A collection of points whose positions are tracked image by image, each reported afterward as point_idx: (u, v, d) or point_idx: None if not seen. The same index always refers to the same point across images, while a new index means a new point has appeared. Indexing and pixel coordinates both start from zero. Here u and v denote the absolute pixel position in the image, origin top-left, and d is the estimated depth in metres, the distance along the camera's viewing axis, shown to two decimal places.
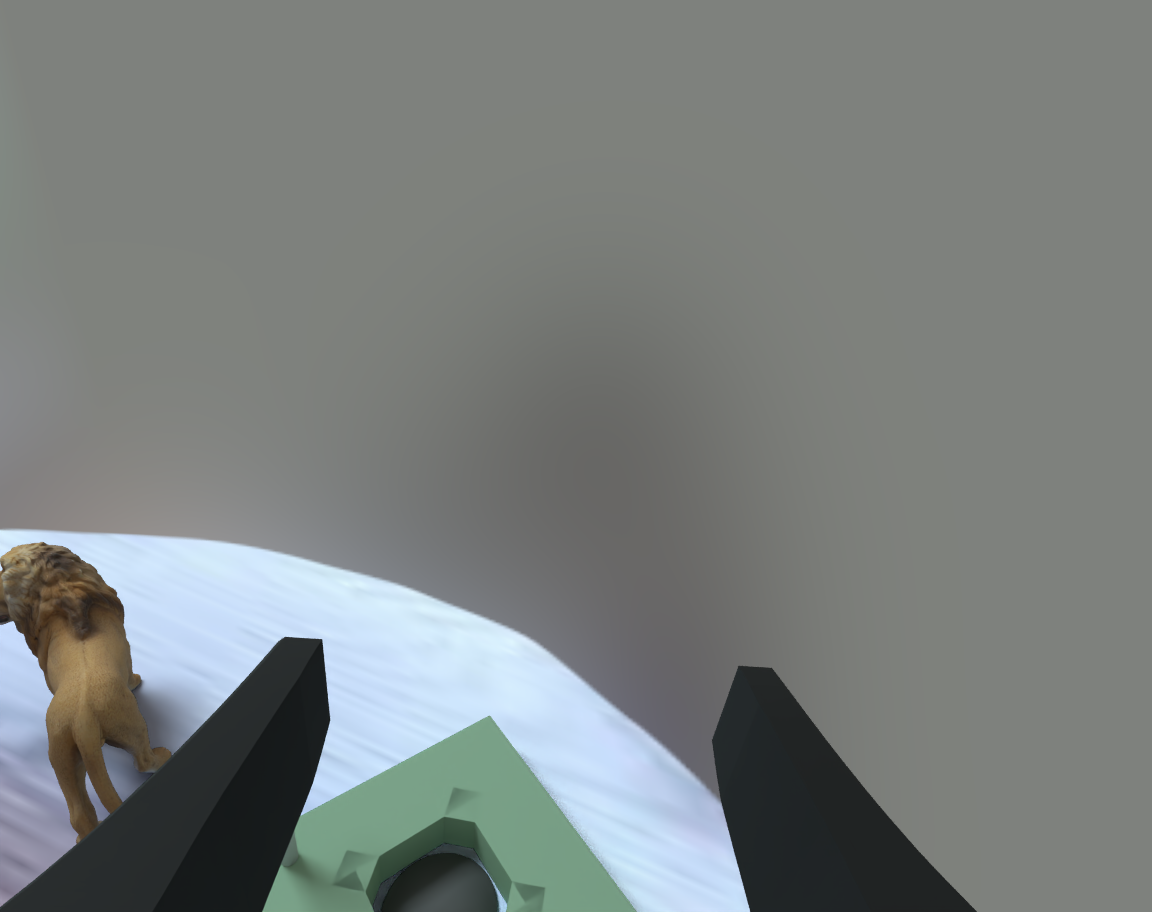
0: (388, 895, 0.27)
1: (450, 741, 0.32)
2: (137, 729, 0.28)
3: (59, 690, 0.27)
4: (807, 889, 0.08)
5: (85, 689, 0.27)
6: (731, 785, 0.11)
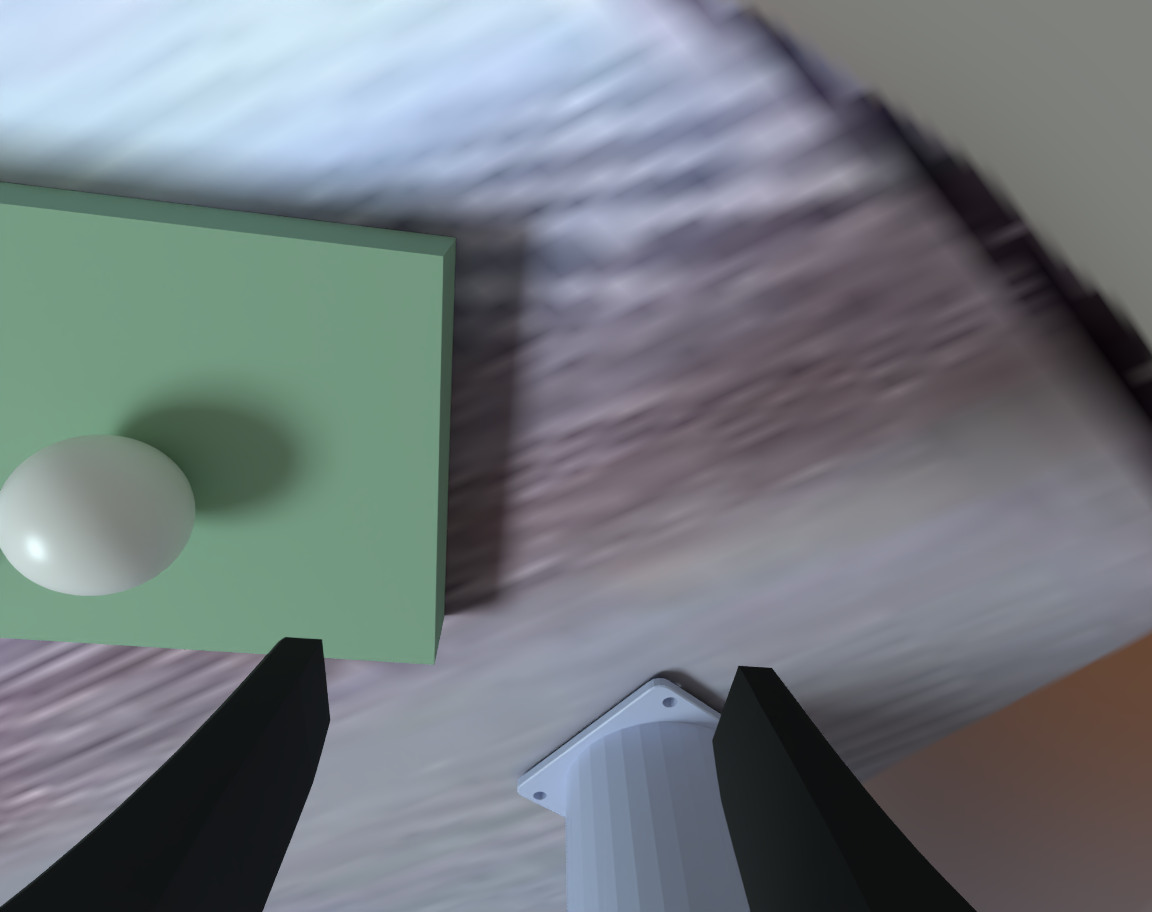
0: None
1: None
2: None
3: None
4: (807, 889, 0.08)
5: None
6: (732, 785, 0.11)
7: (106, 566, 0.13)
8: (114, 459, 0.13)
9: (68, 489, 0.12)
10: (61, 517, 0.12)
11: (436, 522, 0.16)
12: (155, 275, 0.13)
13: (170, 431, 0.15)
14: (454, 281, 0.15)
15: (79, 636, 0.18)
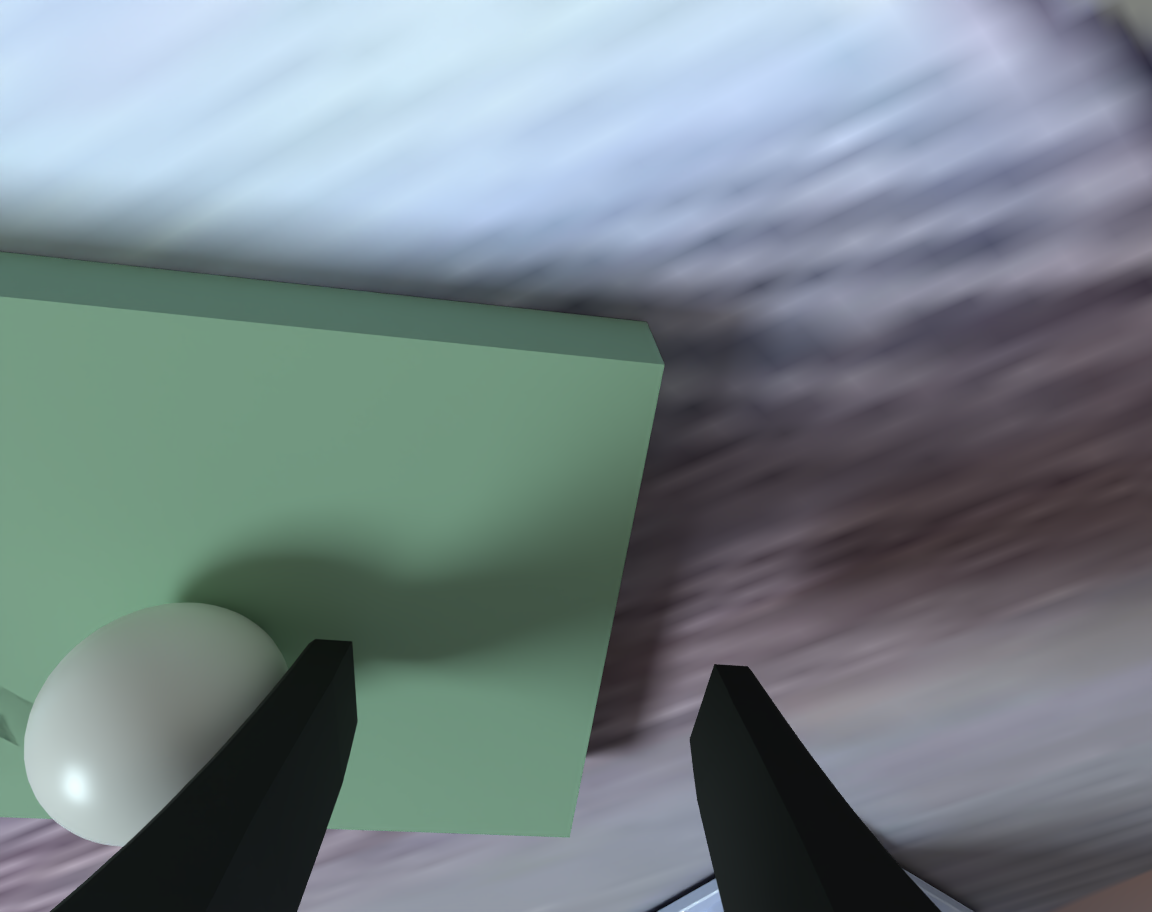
0: None
1: None
2: None
3: None
4: (776, 888, 0.08)
5: None
6: (707, 784, 0.11)
7: None
8: (193, 658, 0.09)
9: (130, 718, 0.08)
10: (120, 761, 0.08)
11: (598, 685, 0.12)
12: (254, 393, 0.09)
13: (259, 586, 0.11)
14: None
15: None
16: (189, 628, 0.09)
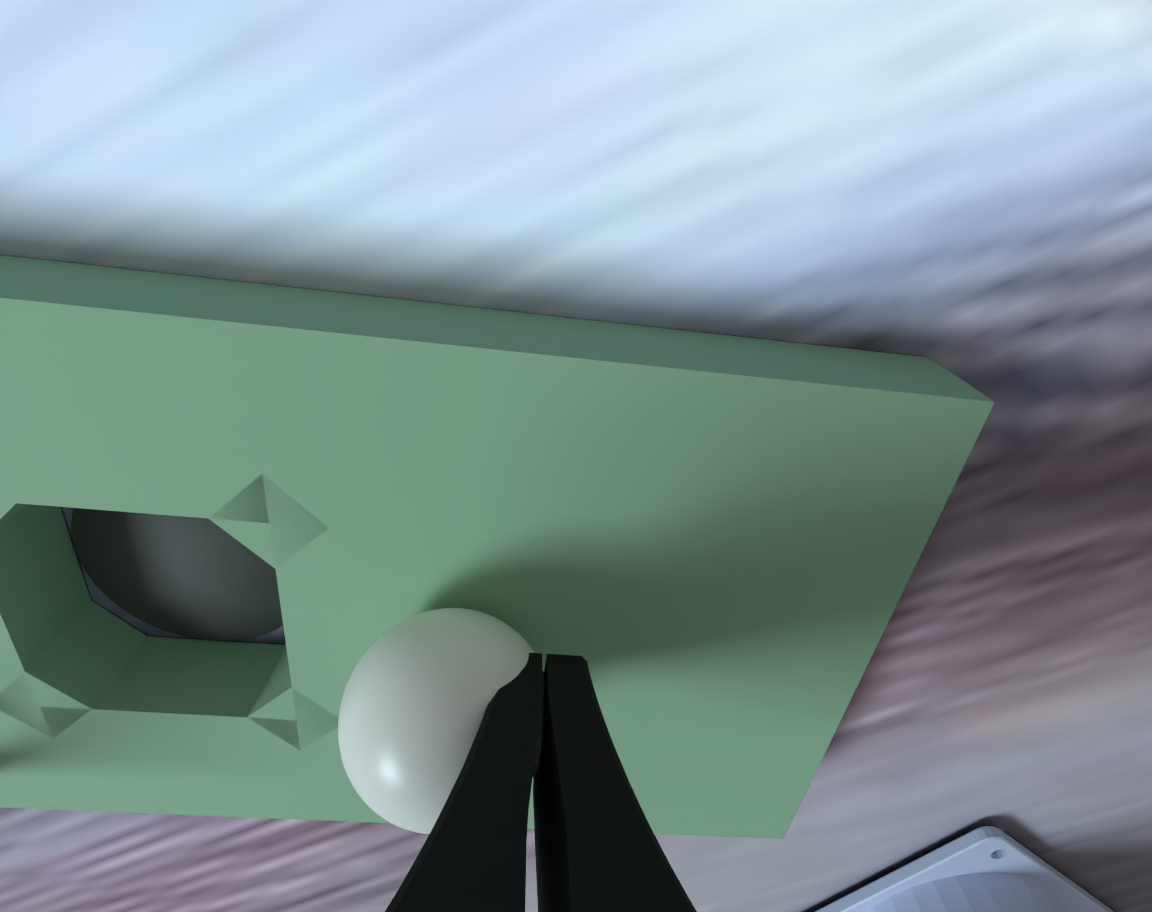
0: (121, 604, 0.14)
1: None
2: None
3: None
4: (555, 881, 0.08)
5: None
6: (537, 777, 0.10)
7: (413, 816, 0.09)
8: (475, 674, 0.10)
9: (410, 703, 0.09)
10: (390, 737, 0.09)
11: (851, 694, 0.13)
12: (618, 427, 0.10)
13: (569, 602, 0.12)
14: None
15: (377, 816, 0.15)
16: (484, 645, 0.10)
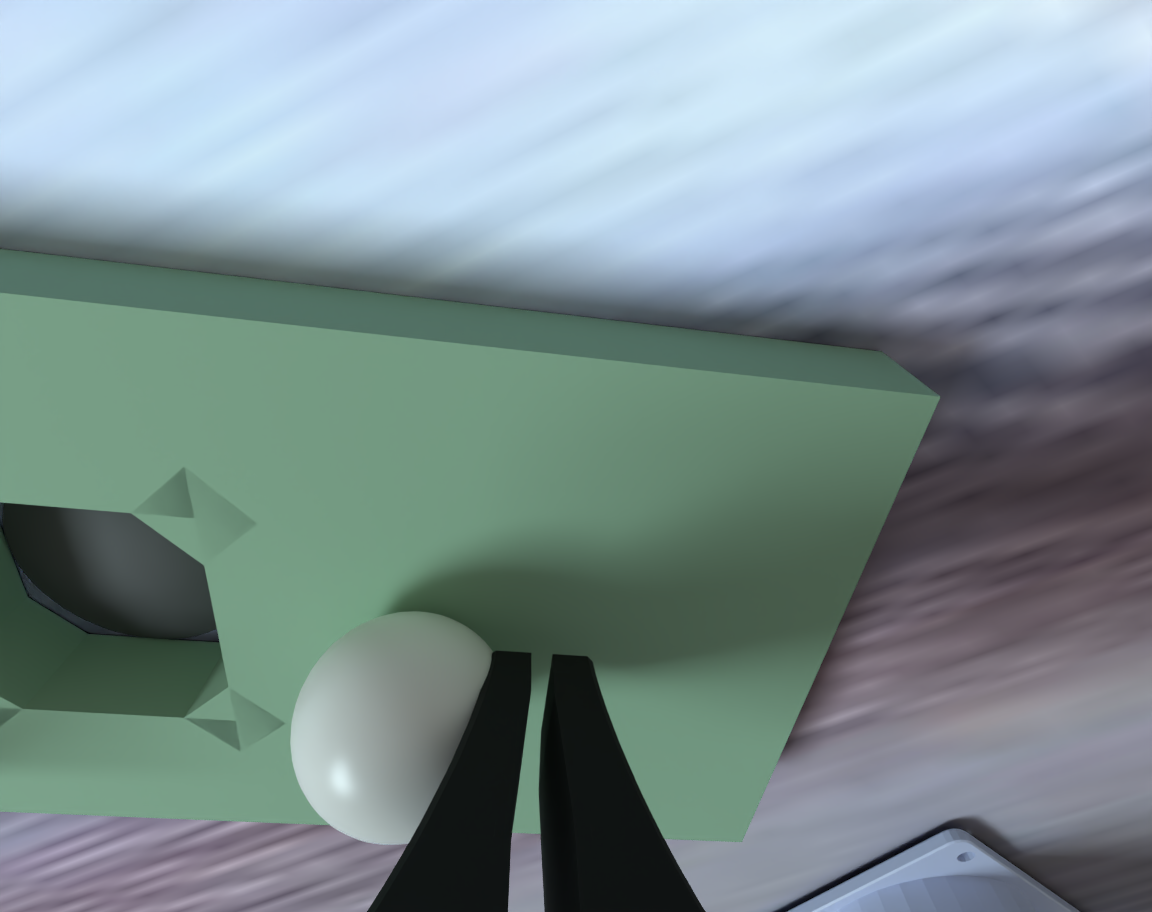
0: (58, 601, 0.14)
1: None
2: None
3: None
4: (563, 881, 0.08)
5: None
6: (542, 776, 0.10)
7: (396, 831, 0.09)
8: (439, 677, 0.09)
9: (379, 720, 0.09)
10: (362, 759, 0.09)
11: (804, 696, 0.13)
12: (552, 420, 0.10)
13: (510, 600, 0.11)
14: None
15: None
16: (441, 646, 0.10)
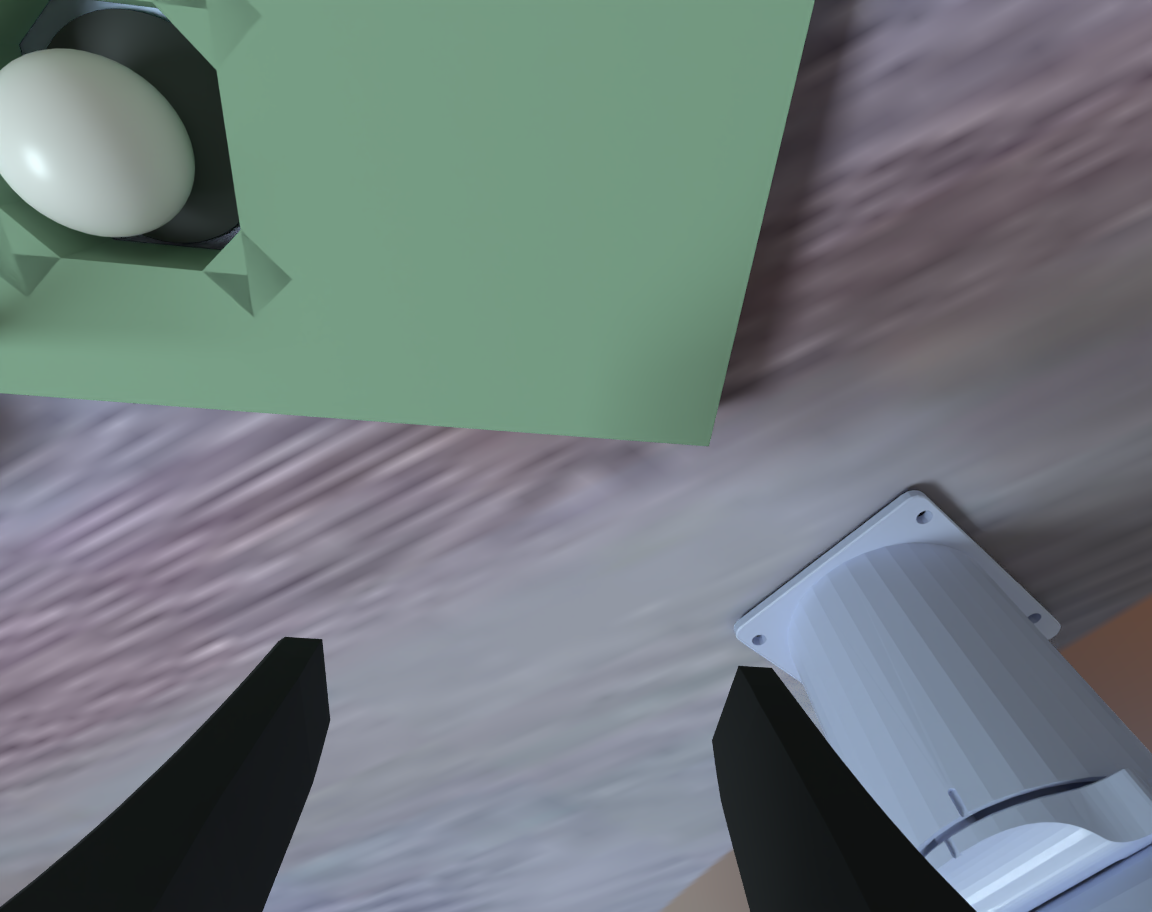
0: None
1: None
2: None
3: None
4: (807, 889, 0.08)
5: None
6: (731, 785, 0.11)
7: None
8: None
9: (143, 78, 0.13)
10: (167, 102, 0.13)
11: (754, 248, 0.15)
12: None
13: (485, 117, 0.13)
14: None
15: (330, 409, 0.16)
16: None
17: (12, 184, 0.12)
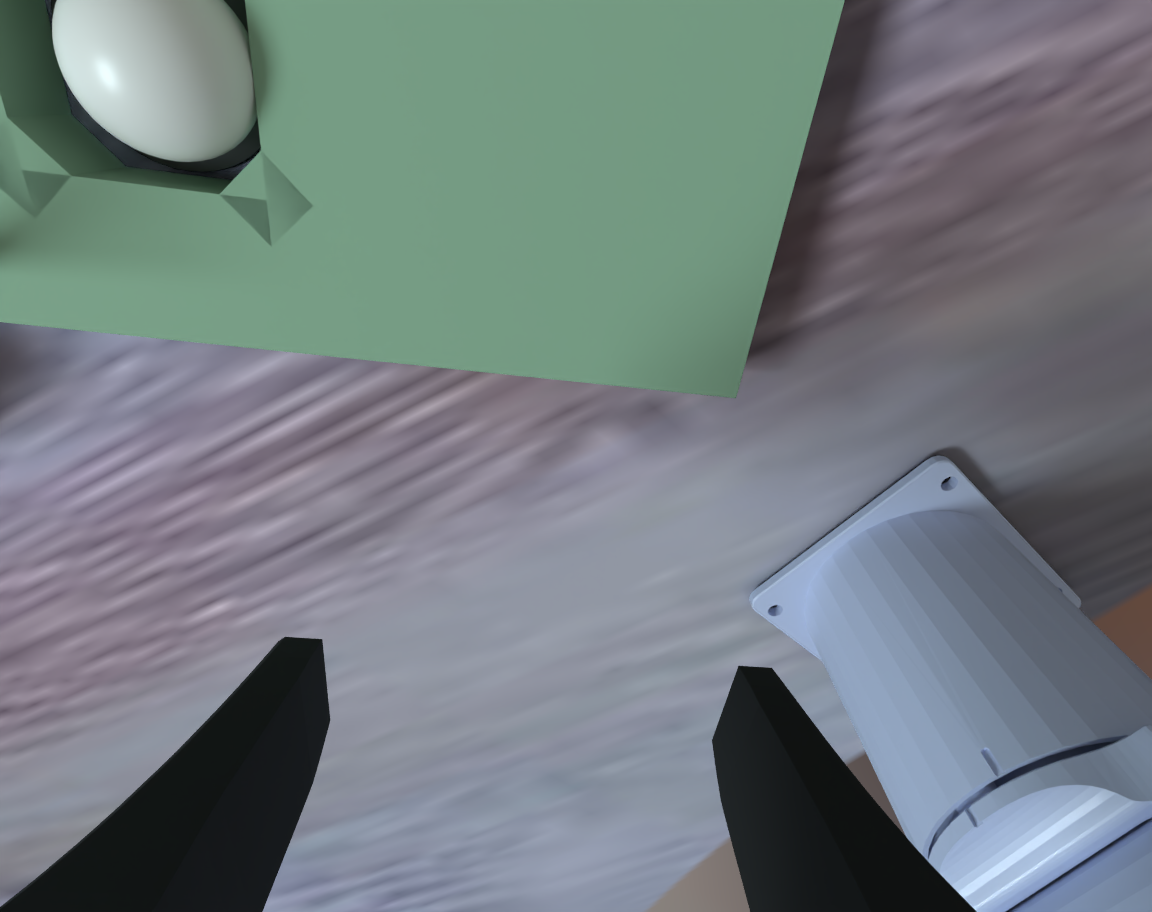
0: None
1: None
2: None
3: None
4: (807, 889, 0.08)
5: None
6: (732, 785, 0.11)
7: None
8: None
9: None
10: None
11: (792, 184, 0.14)
12: None
13: (521, 34, 0.12)
14: None
15: (347, 348, 0.16)
16: None
17: (122, 103, 0.12)
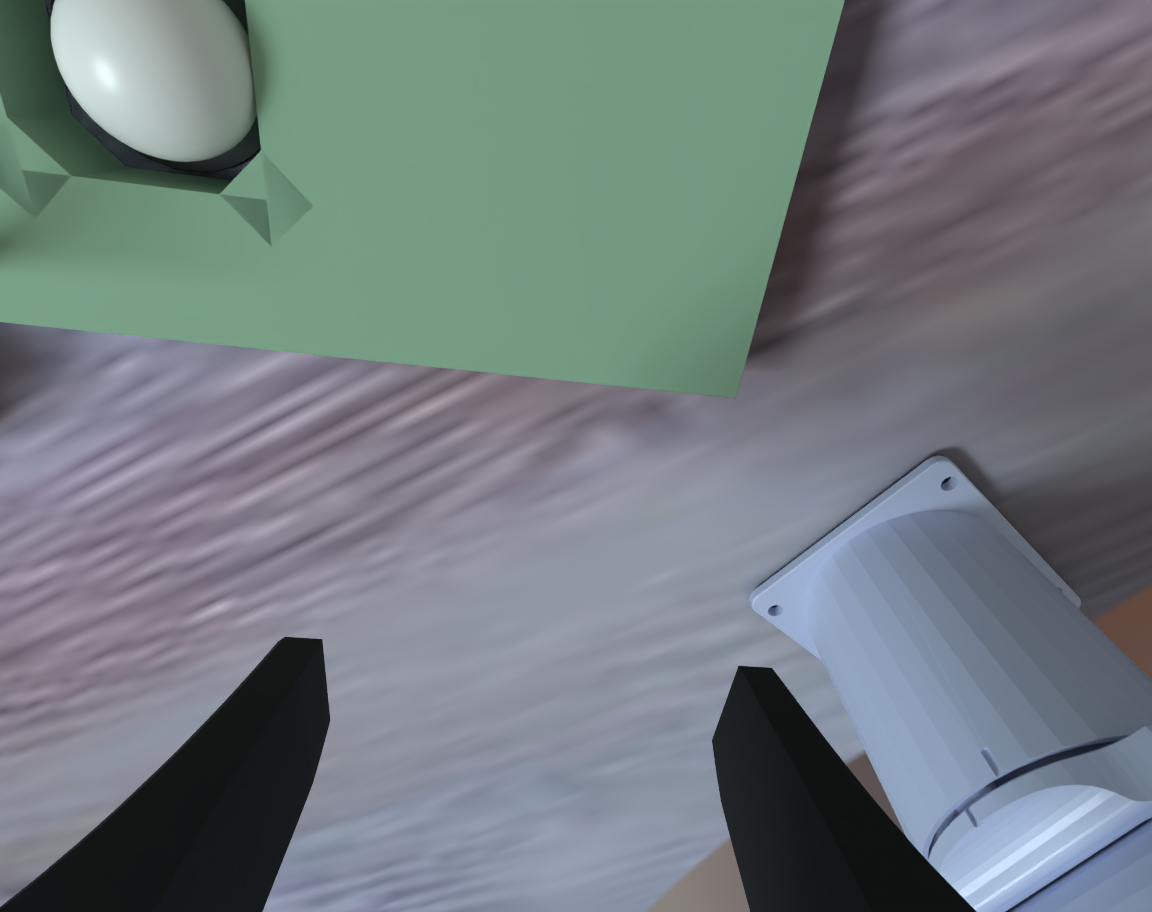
0: None
1: None
2: None
3: None
4: (807, 889, 0.08)
5: None
6: (732, 785, 0.11)
7: None
8: None
9: None
10: None
11: (792, 184, 0.14)
12: None
13: (521, 34, 0.12)
14: None
15: (347, 348, 0.16)
16: None
17: (119, 103, 0.12)
